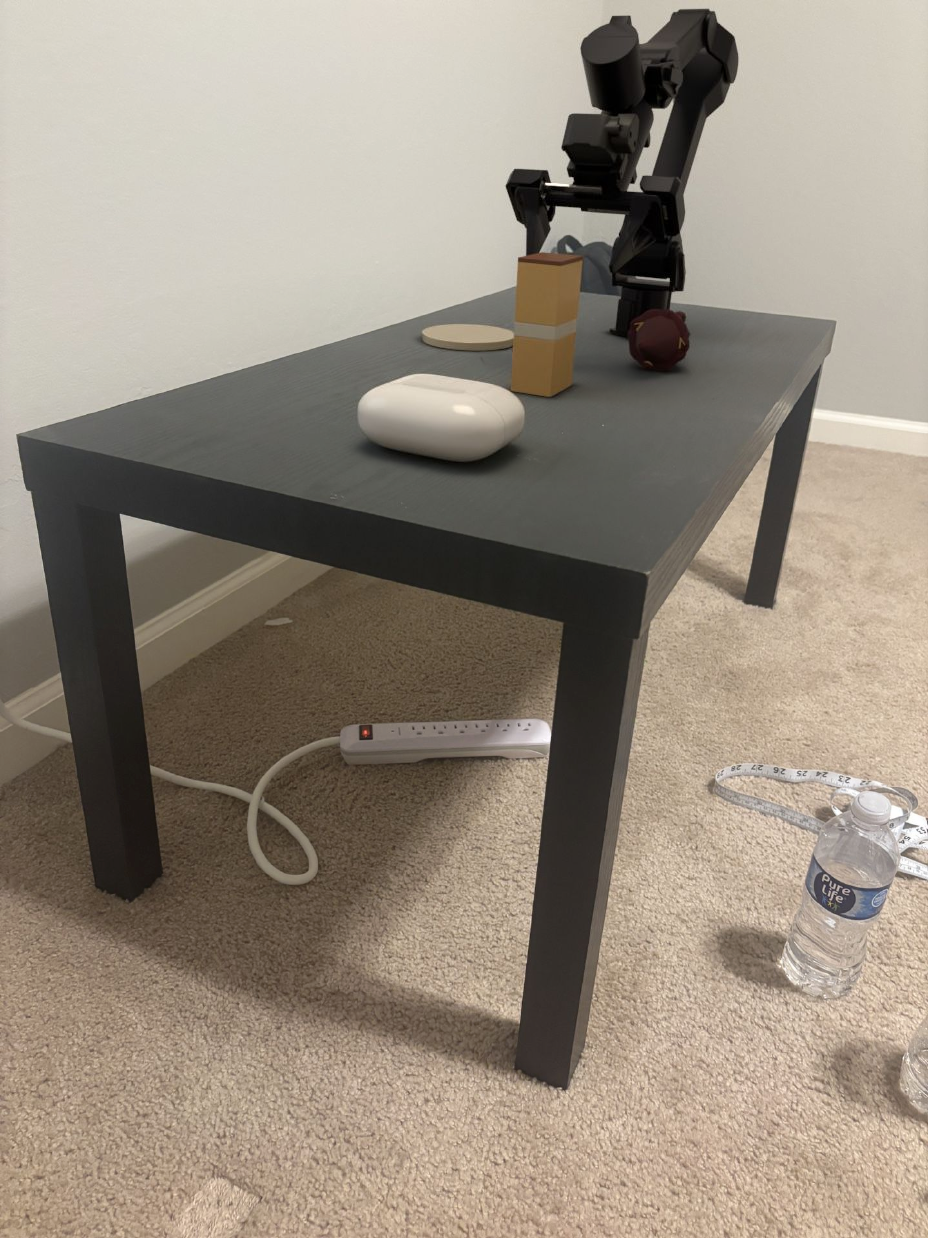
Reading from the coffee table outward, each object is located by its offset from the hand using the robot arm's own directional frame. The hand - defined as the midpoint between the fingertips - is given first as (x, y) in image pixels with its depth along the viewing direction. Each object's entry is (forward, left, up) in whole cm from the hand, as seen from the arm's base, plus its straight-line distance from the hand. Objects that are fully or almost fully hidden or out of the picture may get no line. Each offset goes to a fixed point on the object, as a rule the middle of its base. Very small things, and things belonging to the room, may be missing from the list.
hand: (568, 265), depth 94 cm
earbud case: (+24, +16, -12) cm, 31 cm away
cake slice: (+4, +3, -12) cm, 13 cm away
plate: (-2, -21, -12) cm, 24 cm away
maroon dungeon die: (-14, +1, -12) cm, 18 cm away
